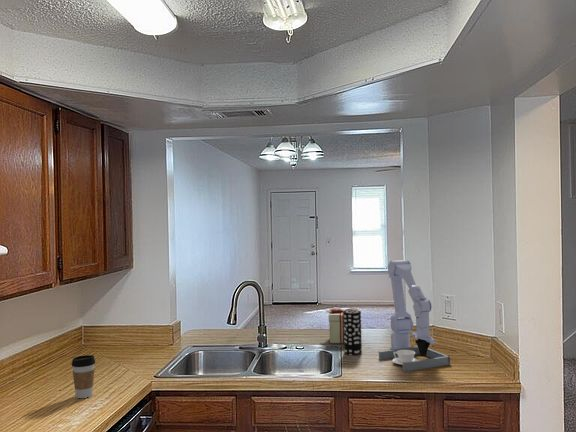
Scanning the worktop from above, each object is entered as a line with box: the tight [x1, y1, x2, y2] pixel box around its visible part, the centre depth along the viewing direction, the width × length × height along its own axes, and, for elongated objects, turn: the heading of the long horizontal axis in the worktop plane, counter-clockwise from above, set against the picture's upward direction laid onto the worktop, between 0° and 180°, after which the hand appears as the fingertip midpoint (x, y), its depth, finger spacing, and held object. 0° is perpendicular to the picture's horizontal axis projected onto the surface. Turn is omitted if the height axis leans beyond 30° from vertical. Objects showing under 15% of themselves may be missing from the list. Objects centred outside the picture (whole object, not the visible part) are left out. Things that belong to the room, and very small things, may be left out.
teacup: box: [392, 350, 419, 366], centre depth 220 cm, size 12×12×5 cm
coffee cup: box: [71, 354, 96, 399], centre depth 188 cm, size 8×8×15 cm
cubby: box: [378, 346, 451, 372], centre depth 223 cm, size 20×24×4 cm
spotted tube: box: [343, 309, 363, 356], centre depth 239 cm, size 8×8×20 cm
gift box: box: [325, 307, 359, 344], centre depth 265 cm, size 17×18×17 cm
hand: (423, 356), depth 225 cm, fingers closed
